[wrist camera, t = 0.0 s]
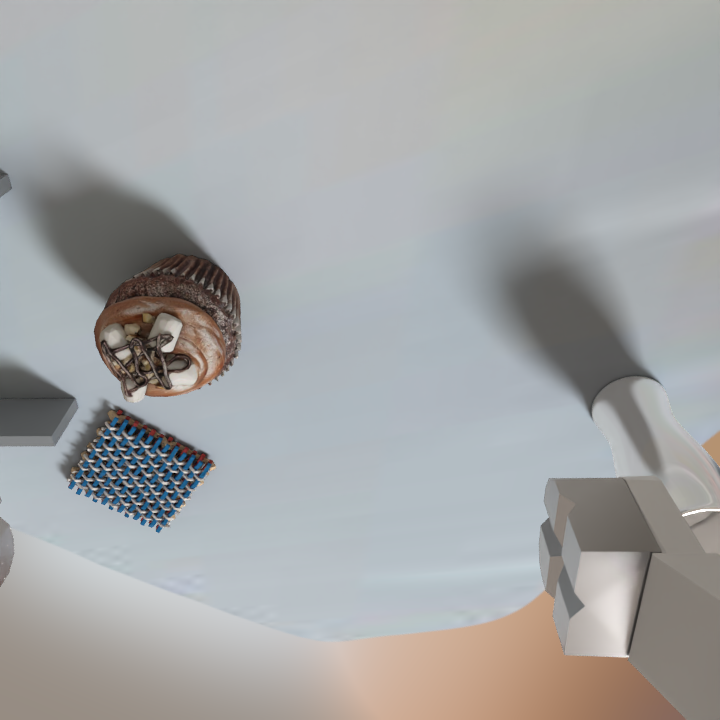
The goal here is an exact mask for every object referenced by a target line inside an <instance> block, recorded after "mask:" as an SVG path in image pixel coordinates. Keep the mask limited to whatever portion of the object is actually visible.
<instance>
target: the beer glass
mask: <svg viewBox="0 0 720 720" xmlns="http://www.w3.org/2000/svg"><path fill="white" fill-rule="evenodd" d="M592 418H593V421H594V423H595V425H596V426H597V427H598V429H599V430H600V431H601V433H602V434H603V435H604V436H605V438H606V439H607V441H608V443H609V445H610V447H611V451H612V456H613V461H614V468H615V474H616V478H619V477H626V476H656V477H657V478H659V479H661V481H662V483H663V484H664V486H665V488H666V489H667V491H668V492H669V494H670V496H671V497H672V499H673V501H674V502H675V504H676V505H677V507H678V509H679V510H680V512H681V514H682V515H683V517H684V518H685V520H686V522H687V523H688V525H689V527H690V528H691V530H692V531H693V533H694V535H695V536H696V538H697V540H698V541H699V543H700V544H701V546H702V548H703V549H704V551H705V553H717V554H719V555H720V468H719V466H718V465H717V463H716V462H715V461H714V460H713V459H712V457H711V456H710V455H709V454H708V453H707V452H706V450H705V449H704V448H703V447H702V446H701V445H700V444H699V443H698V442H697V441H696V440H695V439H694V438H693V437H692V436H691V435H690V434H689V433H688V432H687V431H686V430H685V429H684V428H683V427H682V426H681V425H680V424H679V422H678V421H677V420H676V418H675V417H674V415H673V412H672V410H671V406H670V402H669V398H668V395H667V393H666V391H665V389H664V388H663V387H662V386H661V385H660V384H659V383H658V382H657V381H655V380H653V379H651V378H648V377H643V376H629V377H624V378H621V379H618V380H616V381H613V382H612V383H610V384H608V385H607V386H606V387H604V388H603V389H602V390H601V391H600V392H599V393H598V395H597V396H596V398H595V399H594V402H593V405H592Z"/></svg>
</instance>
